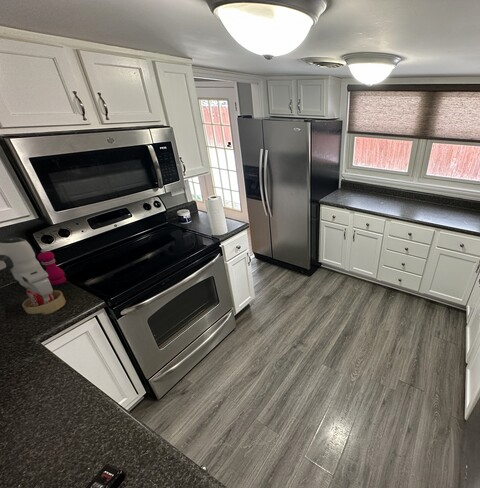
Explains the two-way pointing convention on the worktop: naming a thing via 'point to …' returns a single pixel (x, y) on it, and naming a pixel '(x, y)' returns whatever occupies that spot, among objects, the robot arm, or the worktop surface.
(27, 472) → the worktop surface
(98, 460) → the worktop surface
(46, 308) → the beige oval piece
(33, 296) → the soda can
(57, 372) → the worktop surface
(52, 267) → the pepper mill
